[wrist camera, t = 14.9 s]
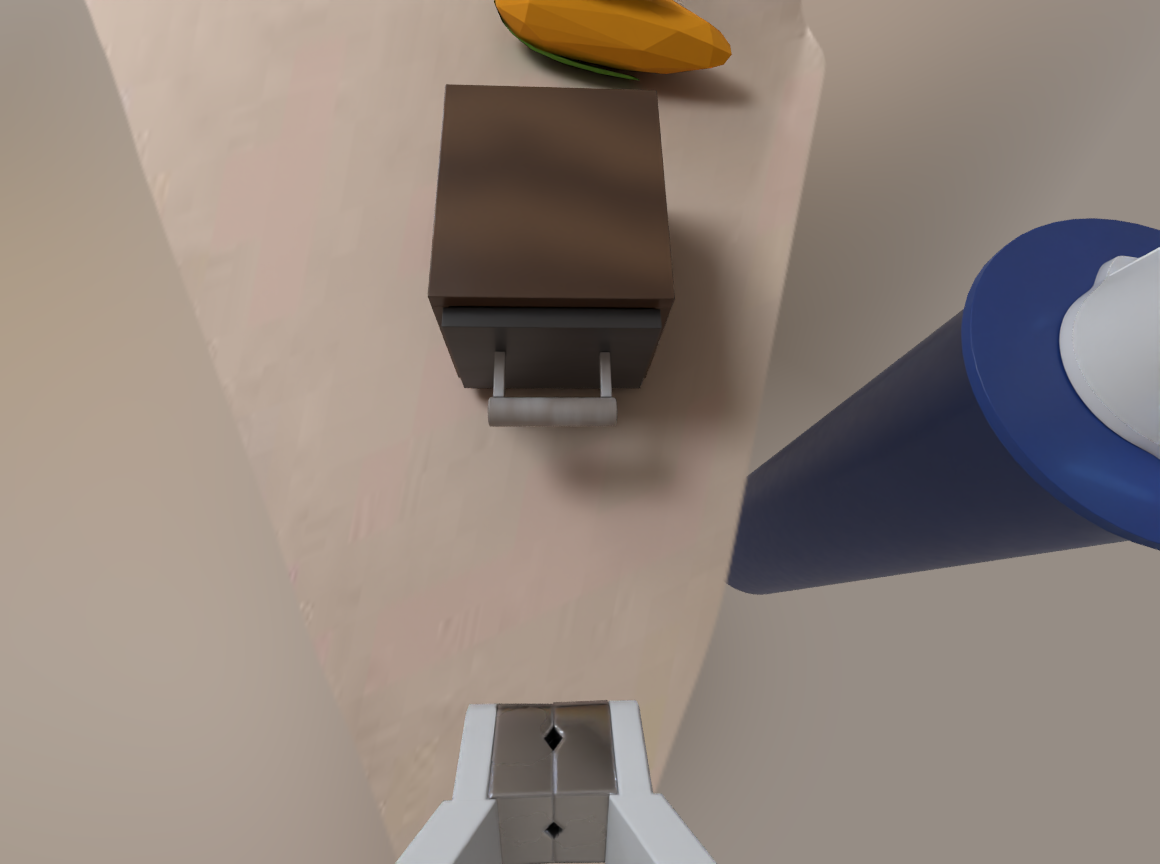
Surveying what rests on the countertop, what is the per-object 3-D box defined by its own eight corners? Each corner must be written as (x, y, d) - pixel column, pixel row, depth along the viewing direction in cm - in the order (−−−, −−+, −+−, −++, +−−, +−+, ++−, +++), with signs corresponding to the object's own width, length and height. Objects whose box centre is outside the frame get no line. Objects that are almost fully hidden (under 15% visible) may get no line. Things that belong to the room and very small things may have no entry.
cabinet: (645, 378, 38) (675, 298, 29) (458, 377, 37) (427, 296, 28) (634, 205, 43) (656, 89, 34) (468, 202, 42) (445, 83, 33)
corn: (507, -101, 42) (760, -36, 41) (516, 0, 50) (730, 58, 49) (472, -34, 41) (736, 36, 39) (487, 61, 48) (709, 122, 47)
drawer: (643, 451, 35) (667, 405, 28) (460, 452, 35) (435, 405, 27) (630, 221, 41) (647, 132, 34) (473, 219, 41) (455, 128, 33)
